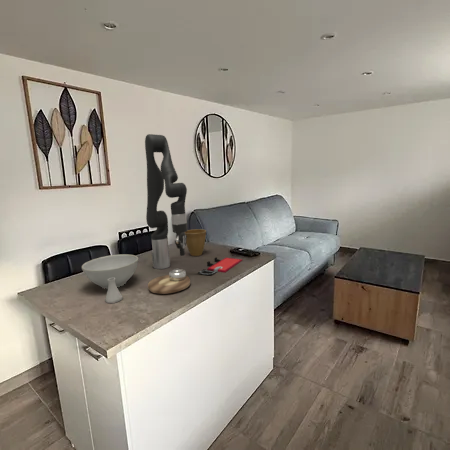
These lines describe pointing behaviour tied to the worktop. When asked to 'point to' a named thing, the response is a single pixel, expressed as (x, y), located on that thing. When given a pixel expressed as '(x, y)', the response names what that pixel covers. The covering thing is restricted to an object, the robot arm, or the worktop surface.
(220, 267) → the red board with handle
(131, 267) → the decorative bowl
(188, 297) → the worktop surface
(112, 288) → the flask
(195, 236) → the plant pot
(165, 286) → the turntable
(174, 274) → the cover
